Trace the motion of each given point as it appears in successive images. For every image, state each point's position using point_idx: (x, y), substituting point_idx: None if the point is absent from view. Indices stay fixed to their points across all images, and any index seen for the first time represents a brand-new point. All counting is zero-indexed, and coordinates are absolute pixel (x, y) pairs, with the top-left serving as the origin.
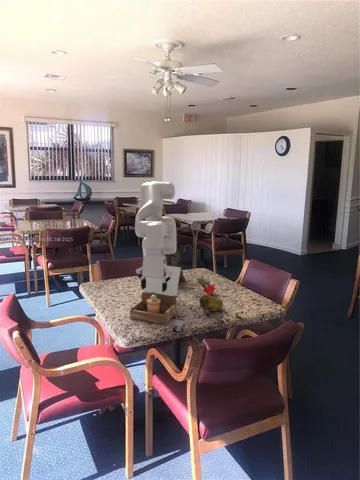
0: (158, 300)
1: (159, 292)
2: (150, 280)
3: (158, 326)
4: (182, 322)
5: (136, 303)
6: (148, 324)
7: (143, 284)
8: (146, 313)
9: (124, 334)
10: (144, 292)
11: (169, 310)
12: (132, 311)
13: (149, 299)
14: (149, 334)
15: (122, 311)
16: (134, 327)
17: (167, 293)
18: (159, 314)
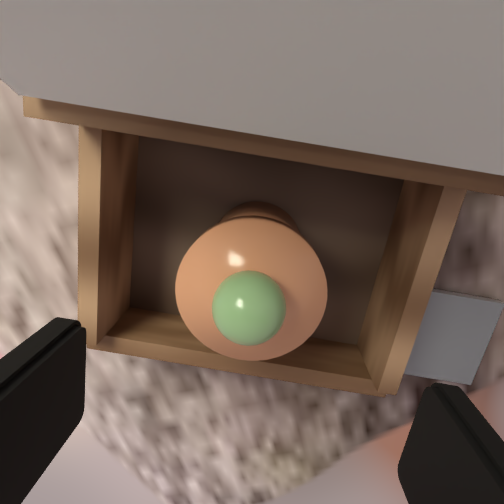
0: (303, 289)
1: (286, 135)
2: None
3: None
4: (481, 327)
5: (83, 251)
6: None
7: (33, 477)
8: (226, 368)
9: (171, 488)
10: (67, 117)
11: (412, 345)
12: (112, 348)
13: (199, 282)
14: (293, 472)
15: (9, 202)
16: (190, 415)
17: (414, 155)
18: (330, 382)
